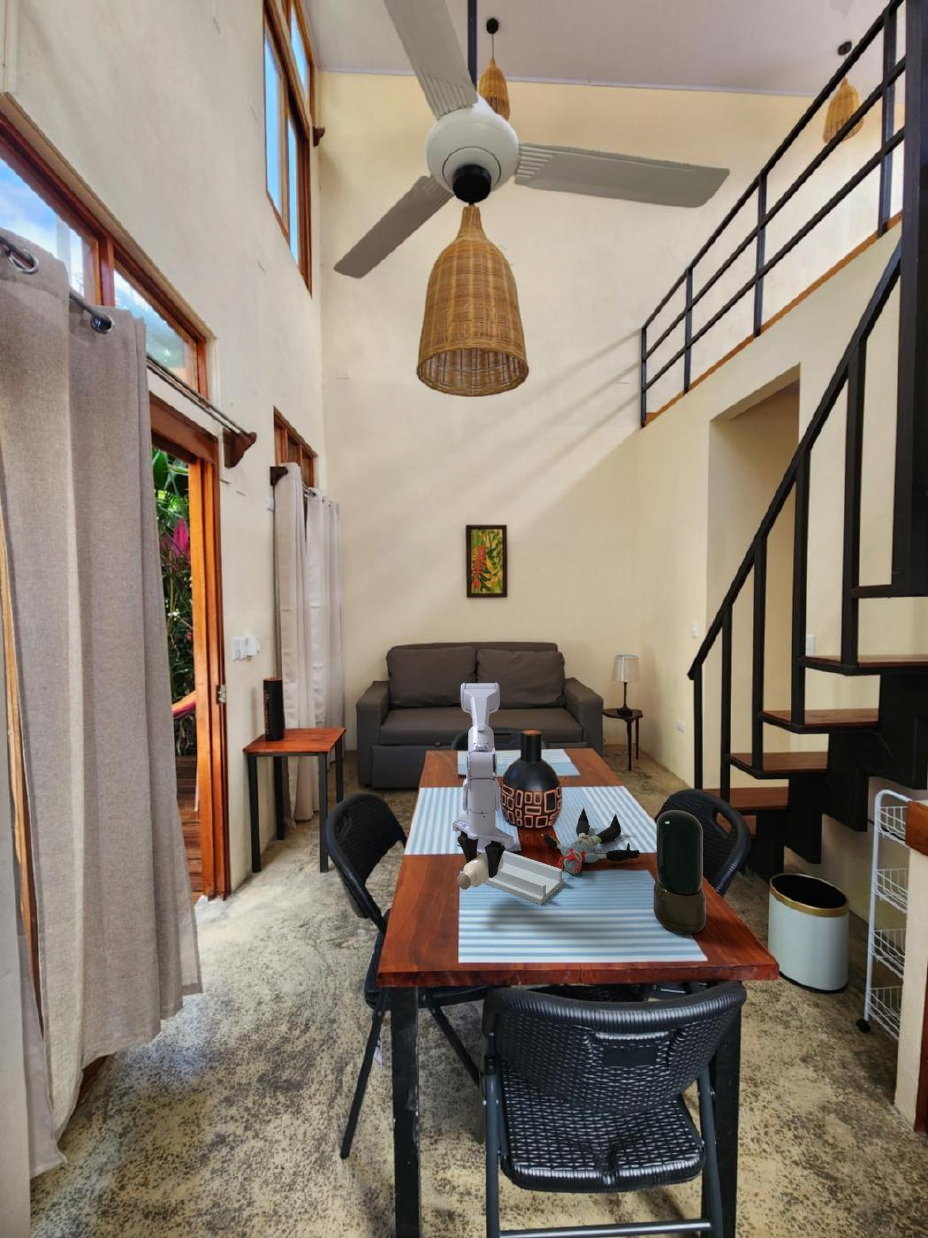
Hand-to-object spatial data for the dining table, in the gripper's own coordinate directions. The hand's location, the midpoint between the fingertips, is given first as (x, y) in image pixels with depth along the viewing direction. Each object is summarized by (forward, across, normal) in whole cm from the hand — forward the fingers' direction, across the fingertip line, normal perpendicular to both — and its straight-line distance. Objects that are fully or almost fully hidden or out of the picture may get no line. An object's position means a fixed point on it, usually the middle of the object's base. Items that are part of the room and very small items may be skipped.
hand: (482, 872), depth 109 cm
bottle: (+2, 0, -1) cm, 2 cm away
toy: (+8, +8, +33) cm, 35 cm away
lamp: (+7, +35, +18) cm, 40 cm away
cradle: (+7, +2, +12) cm, 14 cm away
